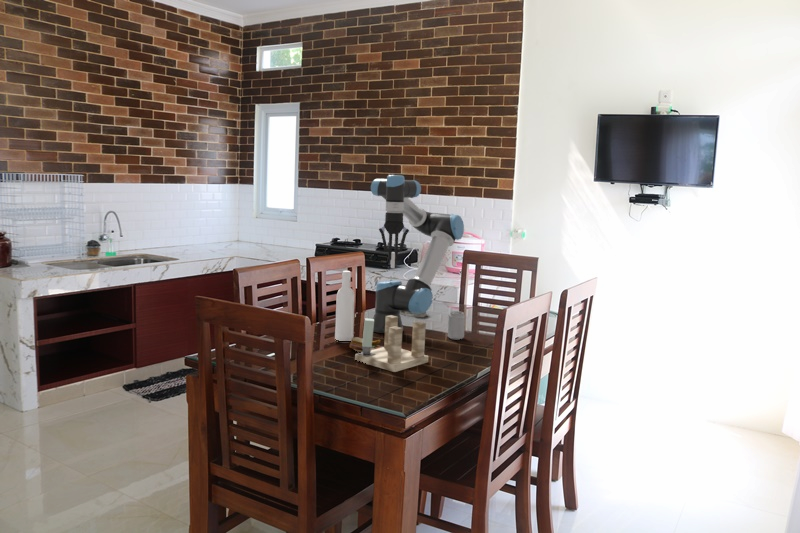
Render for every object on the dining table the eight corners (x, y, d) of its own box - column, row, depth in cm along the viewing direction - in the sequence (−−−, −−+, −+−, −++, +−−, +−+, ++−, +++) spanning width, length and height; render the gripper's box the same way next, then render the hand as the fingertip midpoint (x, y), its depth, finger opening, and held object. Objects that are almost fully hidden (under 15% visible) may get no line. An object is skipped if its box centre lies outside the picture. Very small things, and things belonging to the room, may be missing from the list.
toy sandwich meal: (376, 356, 254) (377, 344, 253) (345, 351, 258) (345, 340, 257) (387, 349, 266) (387, 337, 265) (357, 345, 270) (357, 334, 269)
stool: (354, 360, 245) (356, 320, 243) (389, 351, 261) (391, 314, 259) (394, 372, 233) (396, 330, 231) (428, 362, 248) (430, 322, 246)
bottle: (330, 339, 276) (333, 270, 272) (344, 337, 281) (347, 269, 277) (343, 343, 270) (346, 273, 266) (357, 340, 276) (359, 271, 272)
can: (463, 340, 285) (464, 314, 283) (446, 339, 286) (447, 312, 285) (464, 337, 292) (466, 311, 291) (448, 335, 294) (449, 309, 292)
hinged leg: (361, 354, 243) (364, 320, 242) (361, 351, 247) (364, 318, 245) (370, 354, 244) (374, 321, 242) (370, 352, 247) (373, 319, 246)
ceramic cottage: (397, 309, 348) (399, 282, 345) (427, 312, 346) (429, 285, 343) (393, 317, 333) (395, 289, 330) (425, 320, 331) (427, 292, 328)
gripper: (379, 212, 265) (377, 268, 269) (410, 213, 266) (408, 269, 270) (378, 211, 273) (377, 266, 276) (409, 212, 274) (407, 266, 277)
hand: (392, 267), depth 273 cm, fingers closed
